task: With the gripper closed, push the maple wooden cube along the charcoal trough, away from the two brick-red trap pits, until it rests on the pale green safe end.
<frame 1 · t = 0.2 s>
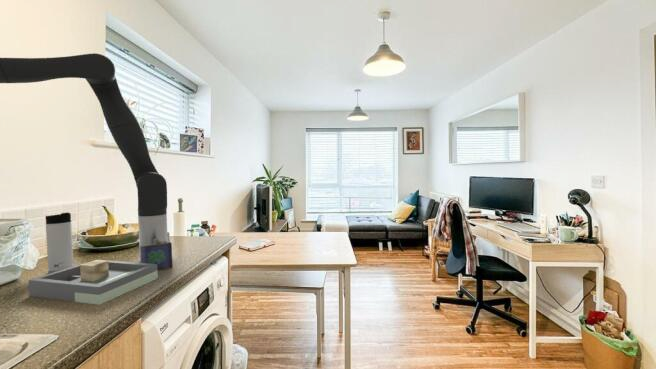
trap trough: (98, 286, 82), on the countertop
travel mug: (61, 271, 96), on the countertop
maple cube: (95, 277, 82), point 2 cm above the countertop, touching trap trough
flask: (157, 269, 97), on the countertop
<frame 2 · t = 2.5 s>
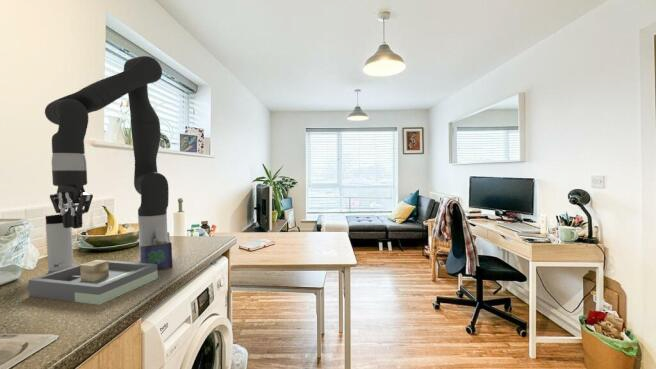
hand: (72, 227, 84), 17 cm above the countertop, tool pointing down, fingers open, 3 cm apart
nothing on the countertop moved.
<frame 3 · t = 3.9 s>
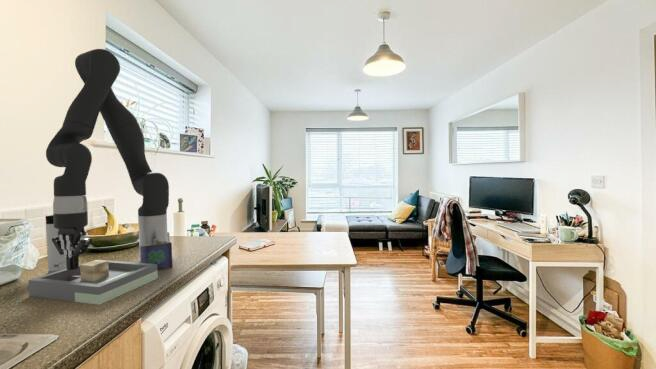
hand: (72, 269, 84), 5 cm above the countertop, tool pointing down, fingers closed
nothing on the countertop moved.
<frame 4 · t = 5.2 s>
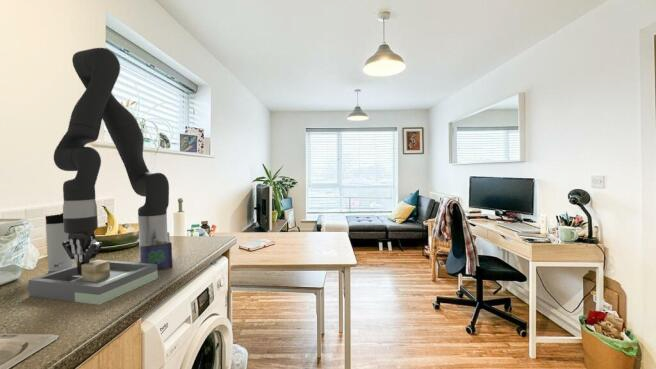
hand: (83, 273, 83), 4 cm above the countertop, tool pointing down, fingers closed
maple cube: (96, 278, 82), point 3 cm above the countertop, touching gripper, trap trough
everything else where it was.
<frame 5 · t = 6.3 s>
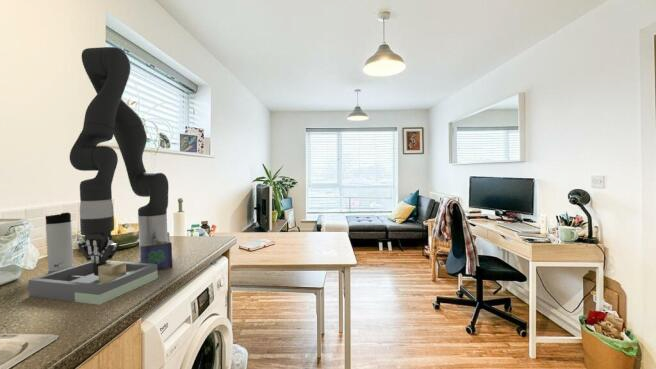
hand: (99, 274, 82), 4 cm above the countertop, tool pointing down, fingers closed
maple cube: (112, 279, 81), point 3 cm above the countertop, touching gripper
everything else where it was.
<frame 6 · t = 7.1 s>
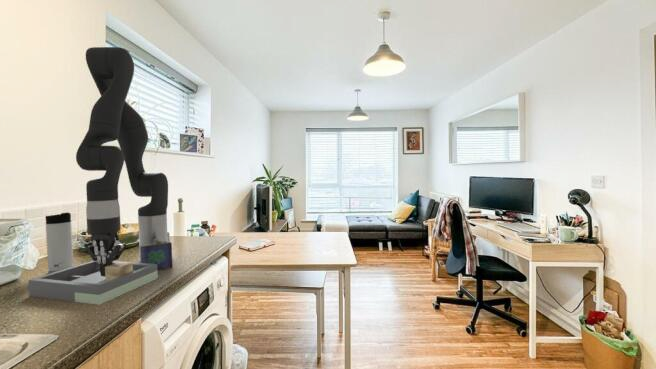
hand: (106, 275, 82), 4 cm above the countertop, tool pointing down, fingers closed
maple cube: (119, 280, 80), point 3 cm above the countertop, touching gripper
everything else where it was.
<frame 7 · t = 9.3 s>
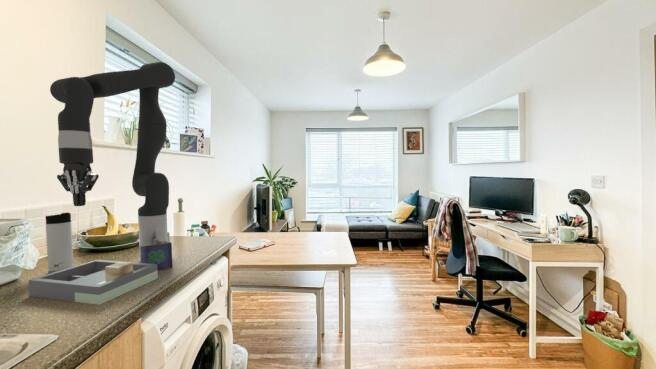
hand: (79, 205, 84), 23 cm above the countertop, tool pointing down, fingers closed
maple cube: (119, 280, 80), point 2 cm above the countertop, touching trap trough
everything else where it was.
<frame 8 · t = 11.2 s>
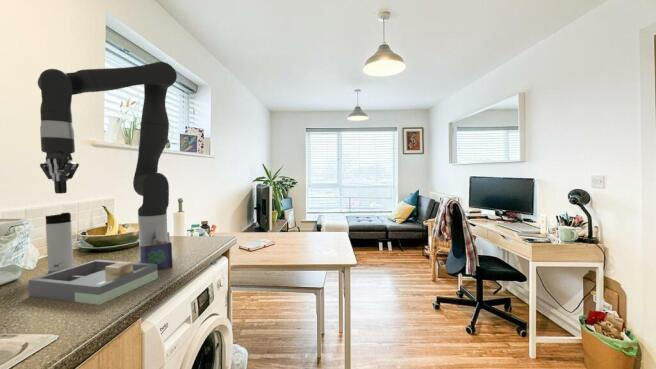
hand: (60, 193, 88), 27 cm above the countertop, tool pointing down, fingers closed
nothing on the countertop moved.
at the end: maple cube inside the target area on the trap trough (1.1 cm from its centre), point 2.5 cm above the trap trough's base; maple cube tilted 0°; the gripper is holding nothing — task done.
